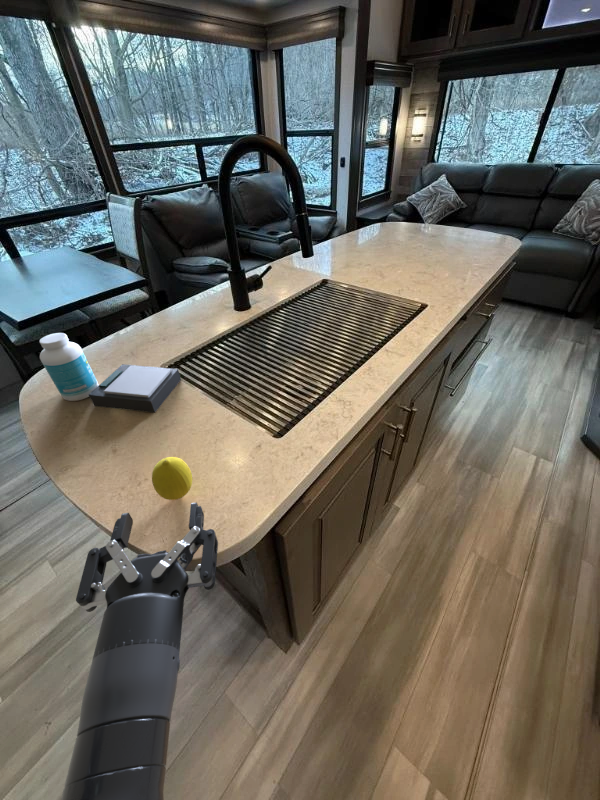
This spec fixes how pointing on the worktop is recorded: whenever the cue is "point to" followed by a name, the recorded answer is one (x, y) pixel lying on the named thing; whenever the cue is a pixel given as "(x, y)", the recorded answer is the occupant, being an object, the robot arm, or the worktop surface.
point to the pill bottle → (67, 367)
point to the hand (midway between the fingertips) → (161, 511)
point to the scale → (136, 388)
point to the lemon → (172, 478)
